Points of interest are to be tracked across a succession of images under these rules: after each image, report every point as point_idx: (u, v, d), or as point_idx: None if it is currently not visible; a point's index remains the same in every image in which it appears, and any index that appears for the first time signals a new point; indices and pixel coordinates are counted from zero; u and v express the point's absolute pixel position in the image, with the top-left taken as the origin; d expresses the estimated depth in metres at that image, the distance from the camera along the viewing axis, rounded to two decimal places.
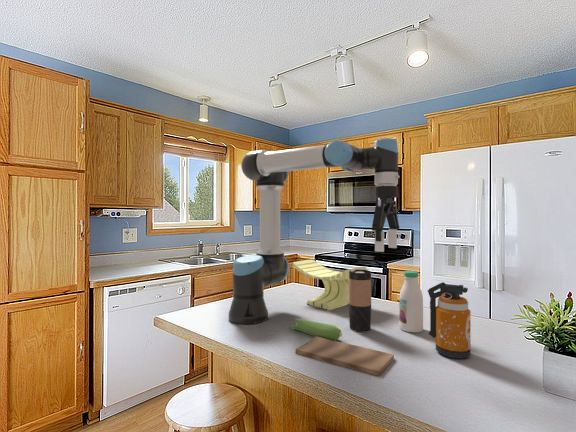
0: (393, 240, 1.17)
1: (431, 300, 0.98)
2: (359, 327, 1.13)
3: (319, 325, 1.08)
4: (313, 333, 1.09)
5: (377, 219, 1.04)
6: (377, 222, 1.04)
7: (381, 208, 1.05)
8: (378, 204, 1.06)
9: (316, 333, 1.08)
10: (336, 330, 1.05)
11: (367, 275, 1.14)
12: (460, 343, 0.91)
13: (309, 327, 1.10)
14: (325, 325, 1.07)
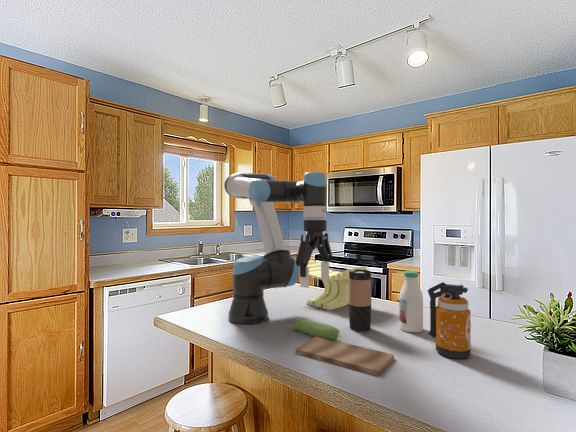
0: (325, 273, 1.16)
1: (431, 300, 0.98)
2: (359, 327, 1.13)
3: (317, 325, 1.08)
4: (312, 333, 1.09)
5: (301, 255, 1.03)
6: (300, 258, 1.03)
7: (305, 243, 1.04)
8: (303, 239, 1.05)
9: (315, 333, 1.08)
10: (334, 330, 1.04)
11: (367, 275, 1.14)
12: (460, 343, 0.91)
13: (308, 327, 1.10)
14: (323, 325, 1.07)
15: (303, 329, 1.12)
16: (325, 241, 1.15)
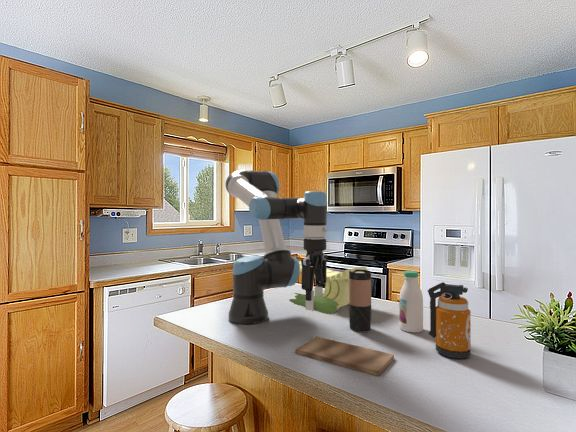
0: None
1: (431, 300, 0.98)
2: (359, 327, 1.13)
3: (317, 298, 1.09)
4: None
5: (305, 280, 1.06)
6: (305, 284, 1.06)
7: (307, 268, 1.06)
8: (304, 264, 1.06)
9: (314, 306, 1.09)
10: (333, 303, 1.05)
11: (367, 275, 1.14)
12: (460, 343, 0.91)
13: None
14: (323, 298, 1.07)
15: (303, 303, 1.13)
16: (323, 262, 1.15)
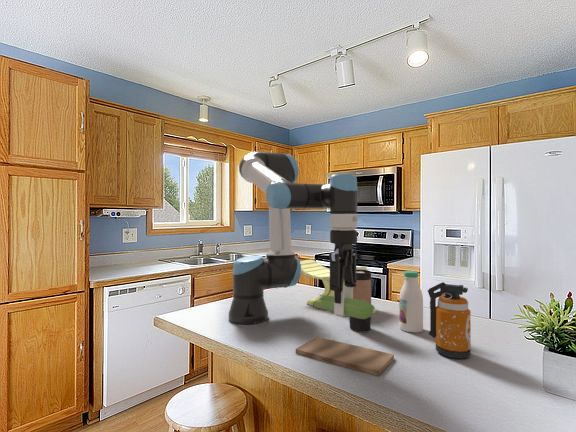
0: None
1: (431, 300, 0.98)
2: (359, 327, 1.13)
3: (348, 300, 0.92)
4: None
5: (334, 279, 0.89)
6: (334, 283, 0.89)
7: (336, 265, 0.89)
8: (332, 259, 0.89)
9: (344, 310, 0.92)
10: (368, 305, 0.88)
11: (367, 275, 1.14)
12: (460, 343, 0.91)
13: None
14: (355, 300, 0.90)
15: (330, 306, 0.95)
16: (352, 258, 0.98)
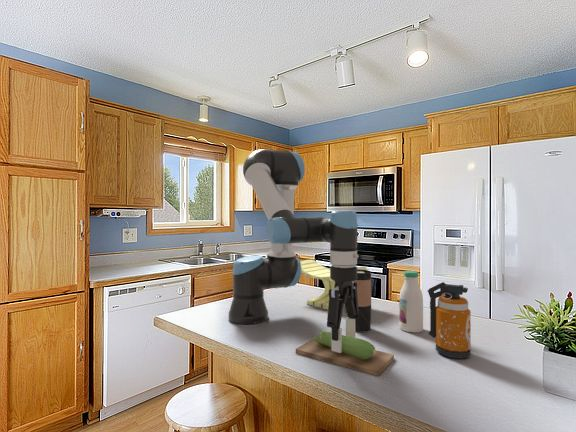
0: (350, 332, 0.98)
1: (431, 300, 0.98)
2: (359, 327, 1.13)
3: (348, 339, 0.92)
4: None
5: (332, 316, 0.88)
6: (332, 320, 0.88)
7: (335, 301, 0.88)
8: (332, 296, 0.89)
9: (345, 349, 0.92)
10: (369, 346, 0.88)
11: (367, 275, 1.14)
12: (460, 343, 0.91)
13: None
14: (355, 340, 0.91)
15: (330, 343, 0.95)
16: (353, 292, 0.98)
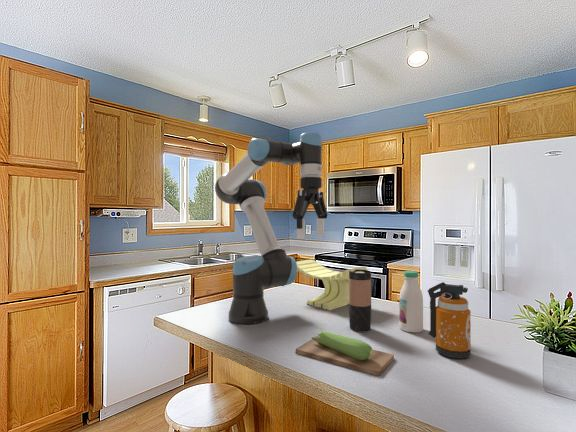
0: (320, 229, 1.24)
1: (431, 300, 0.98)
2: (359, 327, 1.13)
3: (346, 340, 0.91)
4: (339, 349, 0.93)
5: (297, 208, 1.11)
6: (297, 210, 1.11)
7: (302, 197, 1.12)
8: (299, 194, 1.13)
9: (342, 349, 0.92)
10: (366, 347, 0.88)
11: (367, 275, 1.14)
12: (460, 343, 0.91)
13: (334, 341, 0.94)
14: (353, 340, 0.90)
15: (328, 343, 0.96)
16: (320, 199, 1.23)
